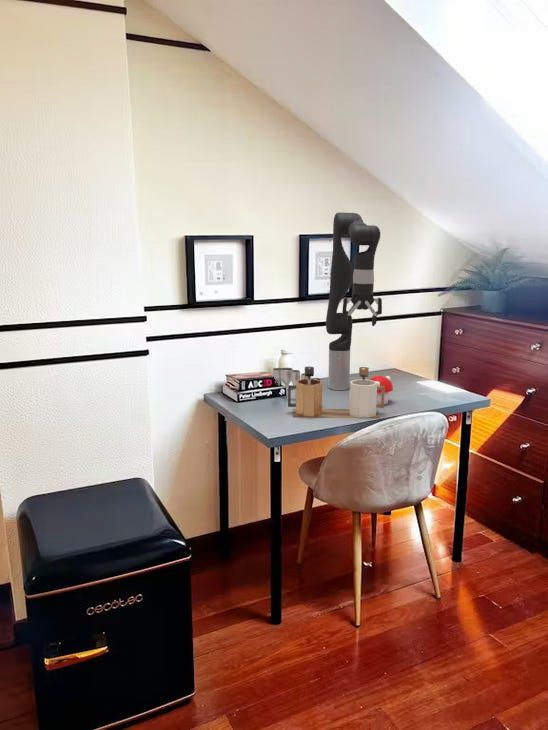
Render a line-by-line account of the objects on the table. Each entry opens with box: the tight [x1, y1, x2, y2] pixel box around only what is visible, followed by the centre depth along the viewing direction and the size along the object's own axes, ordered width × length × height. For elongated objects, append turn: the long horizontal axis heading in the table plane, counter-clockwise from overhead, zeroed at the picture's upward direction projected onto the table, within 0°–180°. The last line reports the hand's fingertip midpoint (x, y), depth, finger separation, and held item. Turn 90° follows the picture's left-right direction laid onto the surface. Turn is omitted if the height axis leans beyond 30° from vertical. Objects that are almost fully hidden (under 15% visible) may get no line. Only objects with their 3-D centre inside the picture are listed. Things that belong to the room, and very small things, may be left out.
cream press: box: [348, 378, 385, 419], centre depth 229 cm, size 10×13×12 cm
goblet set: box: [272, 367, 322, 401], centre depth 247 cm, size 28×6×13 cm, turn 38°
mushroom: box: [369, 375, 394, 405], centre depth 244 cm, size 11×11×12 cm
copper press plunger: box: [304, 366, 315, 385], centre depth 229 cm, size 7×7×16 cm
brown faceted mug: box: [287, 378, 323, 417], centre depth 229 cm, size 10×13×12 cm
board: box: [292, 408, 381, 419], centre depth 230 cm, size 11×32×1 cm, turn 88°
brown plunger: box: [358, 366, 370, 385], centre depth 228 cm, size 7×7×16 cm
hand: (361, 325), depth 228 cm, fingers open, 8 cm apart
